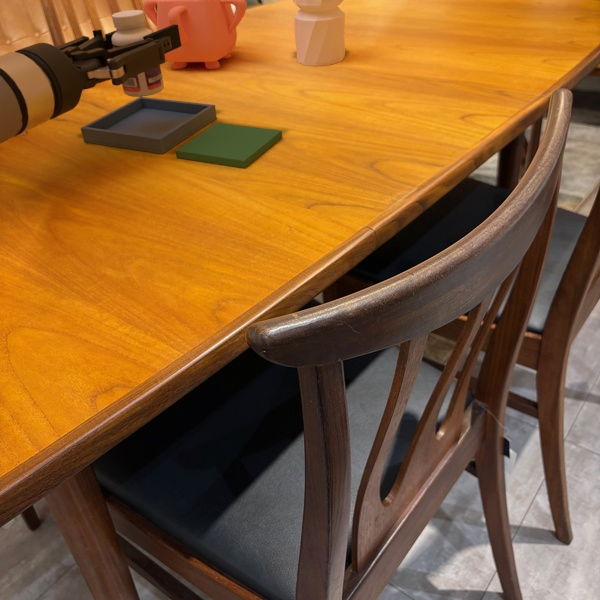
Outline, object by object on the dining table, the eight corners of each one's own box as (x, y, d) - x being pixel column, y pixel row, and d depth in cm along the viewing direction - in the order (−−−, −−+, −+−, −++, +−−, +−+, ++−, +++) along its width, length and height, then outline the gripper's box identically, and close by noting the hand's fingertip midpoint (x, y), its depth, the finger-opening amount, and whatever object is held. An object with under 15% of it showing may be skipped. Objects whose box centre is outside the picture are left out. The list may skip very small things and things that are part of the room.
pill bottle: (161, 82, 85) (146, 6, 79) (167, 93, 81) (152, 14, 75) (122, 88, 84) (104, 12, 78) (125, 100, 80) (107, 19, 74)
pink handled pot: (182, 80, 104) (168, -5, 96) (145, 61, 114) (129, -17, 107) (265, 59, 111) (258, -21, 103) (223, 44, 122) (214, -31, 114)
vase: (298, 67, 106) (294, -9, 98) (294, 54, 113) (290, -19, 105) (349, 63, 106) (348, -14, 99) (341, 50, 113) (340, -23, 106)
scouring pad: (176, 157, 77) (175, 150, 77) (218, 129, 84) (217, 122, 84) (245, 168, 74) (244, 160, 73) (282, 137, 81) (281, 130, 80)
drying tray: (84, 142, 84) (80, 127, 82) (143, 109, 93) (140, 96, 92) (162, 154, 79) (159, 139, 77) (217, 118, 88) (215, 104, 87)
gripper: (-17, 113, 72) (112, 59, 88) (106, 129, 65) (220, 67, 81) (-42, 46, 67) (98, 2, 84) (87, 56, 60) (212, 5, 77)
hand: (158, 34), depth 83 cm, fingers closed on pill bottle, 5 cm apart
